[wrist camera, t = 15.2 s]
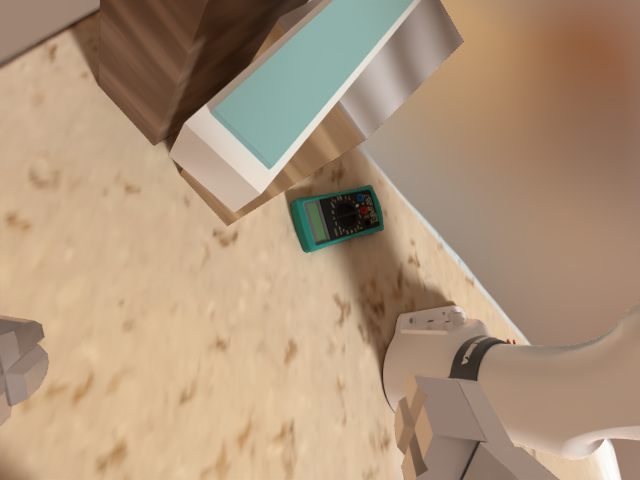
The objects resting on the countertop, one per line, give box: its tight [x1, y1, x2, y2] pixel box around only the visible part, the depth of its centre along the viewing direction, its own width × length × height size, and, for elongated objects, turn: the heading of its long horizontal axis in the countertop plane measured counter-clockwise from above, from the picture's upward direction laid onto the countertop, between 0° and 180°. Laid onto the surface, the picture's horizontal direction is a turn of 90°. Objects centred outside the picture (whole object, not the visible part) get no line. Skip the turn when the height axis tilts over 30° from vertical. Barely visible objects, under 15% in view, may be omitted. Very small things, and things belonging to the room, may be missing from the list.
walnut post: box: [98, 0, 309, 146], centre depth 31 cm, size 16×8×26 cm, turn 138°
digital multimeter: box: [291, 185, 384, 253], centre depth 51 cm, size 7×15×3 cm, turn 110°
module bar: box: [169, 0, 421, 213], centre depth 19 cm, size 26×4×3 cm, turn 146°
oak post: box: [180, 0, 464, 226], centre depth 34 cm, size 16×8×26 cm, turn 138°
